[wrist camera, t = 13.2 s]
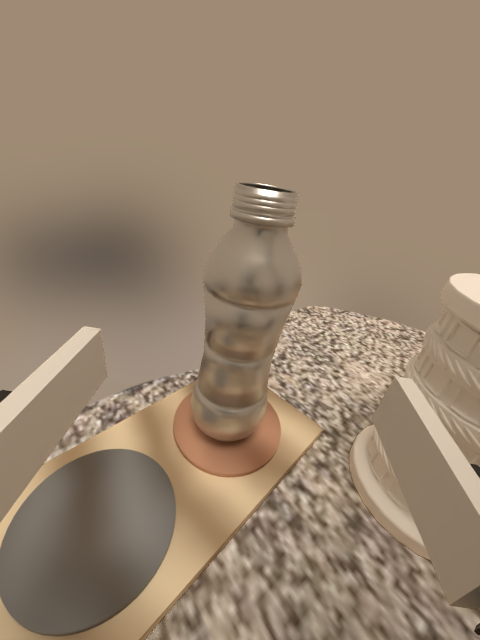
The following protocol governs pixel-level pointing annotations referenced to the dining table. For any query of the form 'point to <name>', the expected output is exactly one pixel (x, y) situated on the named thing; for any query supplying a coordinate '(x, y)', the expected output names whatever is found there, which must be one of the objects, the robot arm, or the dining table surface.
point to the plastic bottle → (245, 310)
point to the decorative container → (444, 398)
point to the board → (135, 519)
